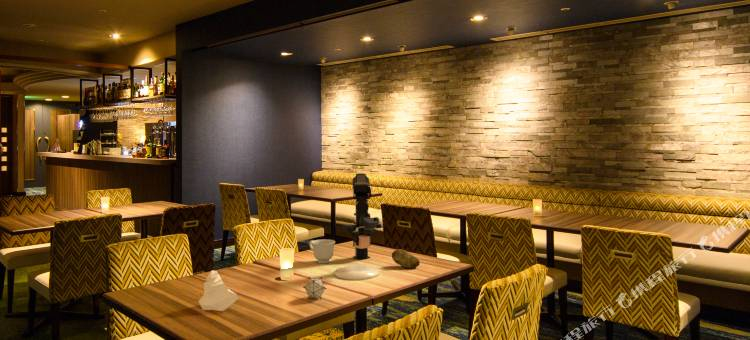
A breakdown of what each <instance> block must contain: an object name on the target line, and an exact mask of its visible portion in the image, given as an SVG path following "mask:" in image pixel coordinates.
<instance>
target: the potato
mask: <svg viewBox="0 0 750 340" xmlns="http://www.w3.org/2000/svg"><path fill="white" fill-rule="evenodd" d="M391 258H392V260H393V262H394V263H396V264H397V265H398V266H400V267H402V268H404V269H414V268H417V267H419V266H420V262H421V261H420V259H419V258H418V257H416V256H415V255H413V254H411V253H409V252H408V251H406V250H405V249H402V248H401V249H400V248H398V249H395V250H393V252H392V253H391Z"/></svg>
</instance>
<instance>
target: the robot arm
mask: <svg viewBox="0 0 750 340" xmlns="http://www.w3.org/2000/svg"><path fill="white" fill-rule="evenodd" d="M351 181H352V190H353V192H352V195H353V196H352V197H353V198H352V199H353V200H355V212H354V213H353V216H355V221H354V222H353V224H351V223H346V224H345V223H344V224H342V227H341V232H342V231H343V232H347V233H350V235H351V238H352V243H353V244H352V246H353V247H354V248H355V251H354V252H355V255H353V256H352V258H354V259H357V260H364V259H370V258H371V256H370V255H369V248H363V249H360V248H356V247H355V243H356V246H358V245H359V236H361V235H365V236H370V247H371V246H372V234H373V232H375V231H376V230H377V229H382V223H381V222H380V218H379V217H378V216H377V217H376V216H374V217H371V214H370V213H369V208H370V207H369V201H368V200H371V198H372V188H371V186H370V178H369V177H368V176H367V173H364V172H363V173H362V172H361V173H358V172H357V173H355V176H353V178H352V180H351Z"/></svg>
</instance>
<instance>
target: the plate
mask: <svg viewBox="0 0 750 340" xmlns="http://www.w3.org/2000/svg"><path fill="white" fill-rule="evenodd" d="M333 274H334V277H336V278H338V279H342V280H348V281H361V280H362V281H365V280H370V279H373V278H376V277H378V276H379V275H380V270H379V269H378V268H376V267H374V266H373V267H372V266H368V265H367V266H366V265H349V266H343V267H339V268H336V269H335V270H334V273H333Z"/></svg>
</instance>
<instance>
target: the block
mask: <svg viewBox="0 0 750 340" xmlns="http://www.w3.org/2000/svg"><path fill="white" fill-rule="evenodd" d="M370 237H371V236H365V235H361V236H359V245H358V246H356V243H355V246H354V248H355V247H356V248H360V249H363V248H368V249H370V247H371V246H370Z"/></svg>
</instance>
